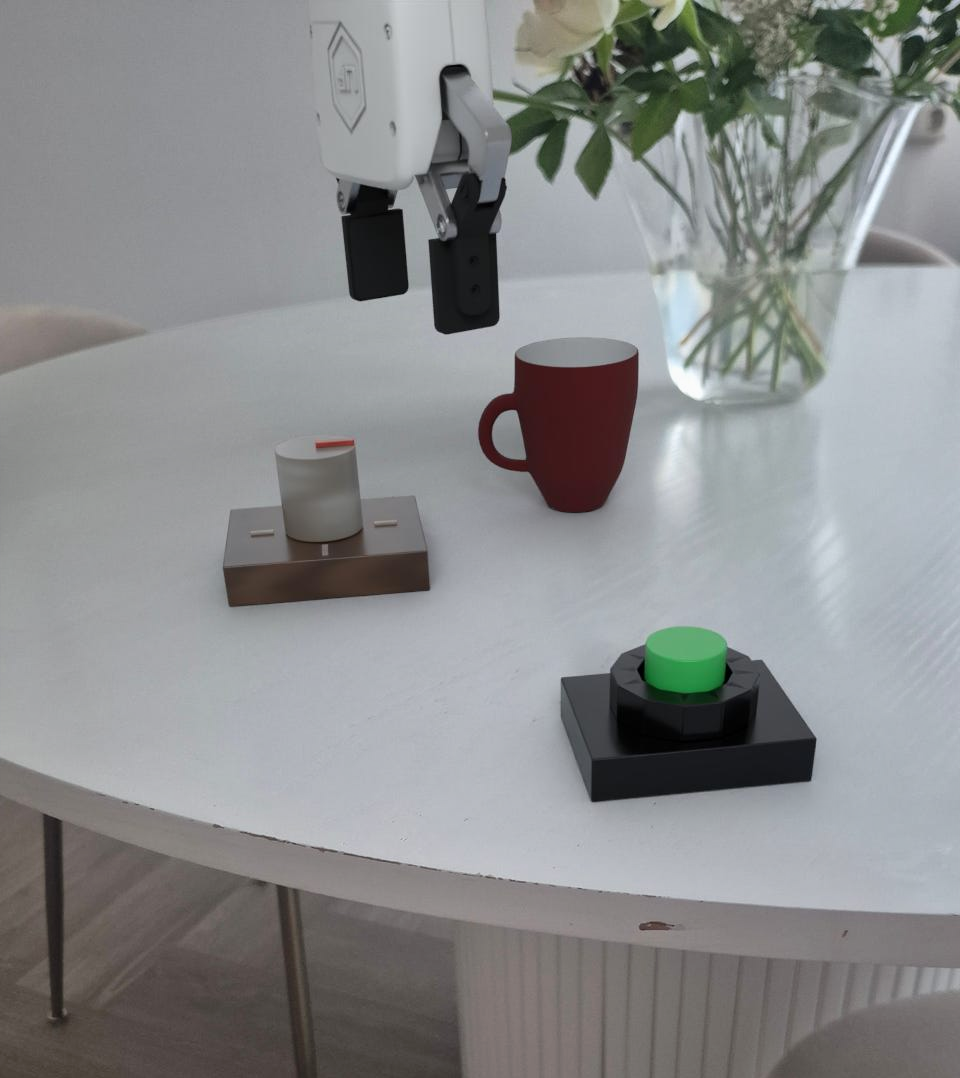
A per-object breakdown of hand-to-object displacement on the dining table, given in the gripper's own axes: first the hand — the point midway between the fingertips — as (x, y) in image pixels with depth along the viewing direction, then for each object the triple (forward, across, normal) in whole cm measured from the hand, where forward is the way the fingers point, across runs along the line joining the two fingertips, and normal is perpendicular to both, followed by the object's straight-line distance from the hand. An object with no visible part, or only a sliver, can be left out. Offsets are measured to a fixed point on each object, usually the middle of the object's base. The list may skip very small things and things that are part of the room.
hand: (421, 312), depth 63 cm
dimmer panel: (+16, -11, -2) cm, 20 cm away
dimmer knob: (+14, -11, -2) cm, 18 cm away
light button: (+13, +19, +3) cm, 23 cm away
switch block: (+17, +19, +3) cm, 25 cm away
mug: (+17, -13, +15) cm, 26 cm away
